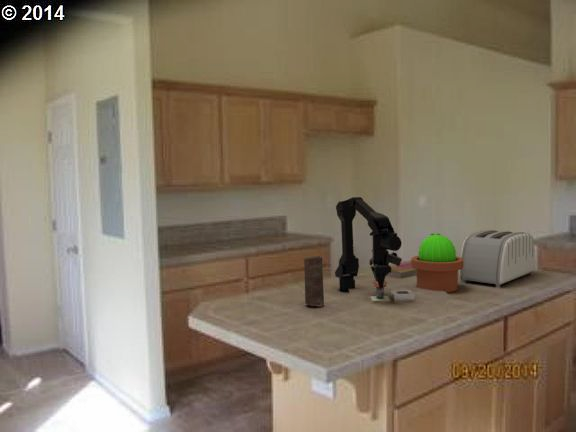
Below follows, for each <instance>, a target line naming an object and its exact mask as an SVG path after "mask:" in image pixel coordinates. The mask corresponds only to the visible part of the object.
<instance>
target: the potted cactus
mask: <svg viewBox="0 0 576 432" xmlns="http://www.w3.org/2000/svg"><path fill="white" fill-rule="evenodd" d="M449 238H450V237H448V236H447V237H446V236H445V235H443V234H440V233H436V234H435V233H430V234H429V236H426V238H424V239H423V241H421V242H420V245H419V249H418V255H415V256H413V257H411V258H410V260H411V267H412V268H414V269H417V275H416V288H419V289H425V290H431V291H444V292H445V293H446V294H449V293H454V292H456V291H457V290H458V287H459V281H458V280H459V278H458V277H459V270H461V269H463V261H464V260H463V258H461V257H460V256H457V252H456V251H457V249H456V245H455V244H454V243H453V242H452V240H451V239H449Z"/></svg>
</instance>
